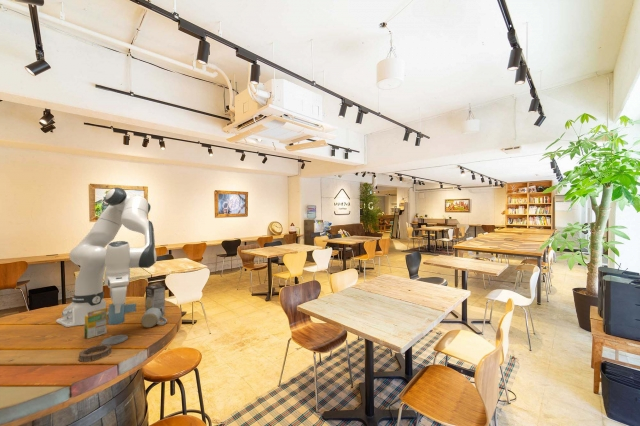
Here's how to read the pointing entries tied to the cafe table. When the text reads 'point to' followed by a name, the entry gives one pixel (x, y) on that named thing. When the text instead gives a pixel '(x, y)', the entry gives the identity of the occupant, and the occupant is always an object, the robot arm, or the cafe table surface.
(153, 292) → the coffee box
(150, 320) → the ceramic mug
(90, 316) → the crayon box
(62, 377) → the cafe table surface
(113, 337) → the coaster
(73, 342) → the cafe table surface
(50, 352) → the cafe table surface
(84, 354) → the ring holder
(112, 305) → the blue pot
